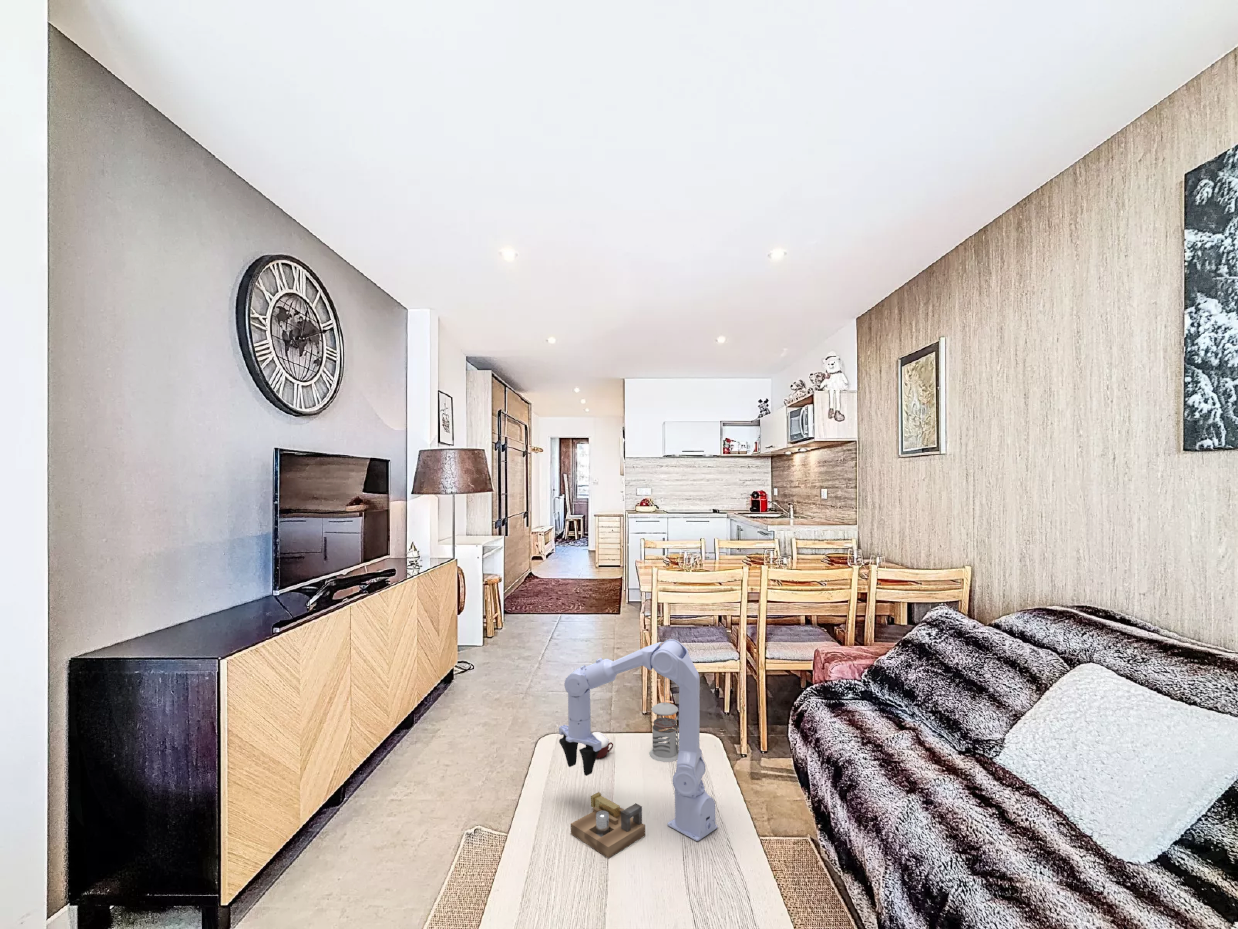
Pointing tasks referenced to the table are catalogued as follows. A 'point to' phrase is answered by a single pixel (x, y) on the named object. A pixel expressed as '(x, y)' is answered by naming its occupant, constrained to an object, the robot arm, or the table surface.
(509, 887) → the table surface
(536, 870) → the table surface
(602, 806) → the lock pin
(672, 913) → the table surface
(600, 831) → the cylinder
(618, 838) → the dock
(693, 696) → the robot arm
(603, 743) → the cocoa
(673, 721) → the french press
